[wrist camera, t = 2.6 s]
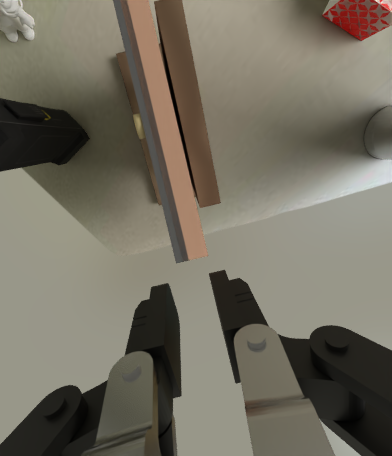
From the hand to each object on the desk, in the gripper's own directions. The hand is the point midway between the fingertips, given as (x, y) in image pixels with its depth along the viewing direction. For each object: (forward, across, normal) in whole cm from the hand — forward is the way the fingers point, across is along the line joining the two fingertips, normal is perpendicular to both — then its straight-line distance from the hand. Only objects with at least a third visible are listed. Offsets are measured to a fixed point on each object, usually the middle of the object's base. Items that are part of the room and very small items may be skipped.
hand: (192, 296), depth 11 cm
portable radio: (+37, +17, -11) cm, 42 cm away
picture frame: (+26, 0, -3) cm, 27 cm away
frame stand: (+37, 0, -8) cm, 38 cm away
